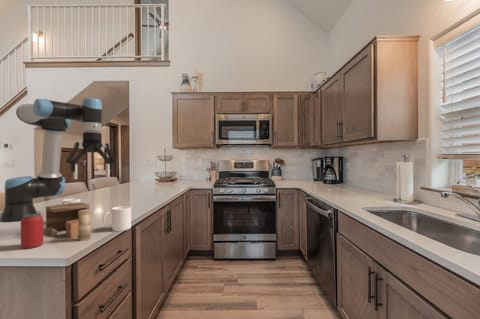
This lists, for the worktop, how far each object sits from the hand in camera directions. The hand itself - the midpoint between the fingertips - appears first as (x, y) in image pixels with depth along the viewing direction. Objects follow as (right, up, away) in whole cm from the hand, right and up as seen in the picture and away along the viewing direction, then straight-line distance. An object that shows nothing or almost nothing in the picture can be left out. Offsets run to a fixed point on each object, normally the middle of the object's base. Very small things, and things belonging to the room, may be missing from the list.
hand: (92, 178), depth 113 cm
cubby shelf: (-11, -25, 0) cm, 27 cm away
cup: (+11, -25, +2) cm, 27 cm away
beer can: (-11, -25, -19) cm, 34 cm away
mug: (-21, -25, +14) cm, 35 cm away
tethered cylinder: (0, -25, -9) cm, 26 cm away
